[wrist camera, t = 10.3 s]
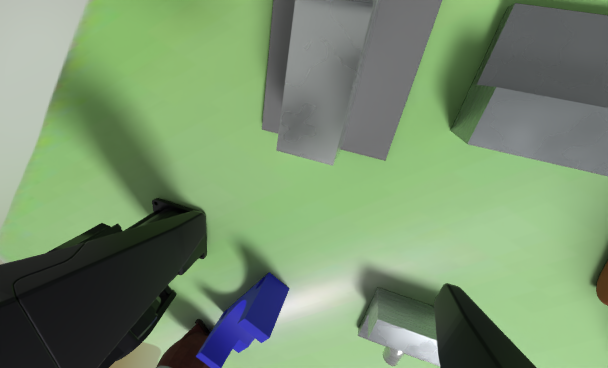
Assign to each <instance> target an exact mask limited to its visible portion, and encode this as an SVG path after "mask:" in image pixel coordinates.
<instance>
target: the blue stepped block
mask: <svg viewBox="0 0 608 368" xmlns="http://www.w3.org/2000/svg"><path fill="white" fill-rule="evenodd" d="M288 291H289V288H288V287H287V286H286V285H284V284H283V283H282V282H281V281H279V280H278V279H277V278H276V277H275V276H273V275H272V274H271V273H270V272H269V273H268V274H267V275H266V276H265V277H263V278H262V279H261V280H260V281H259V282H258V283H257V284H255V285H254V286H253V287H252V288H251V289H250V290H249V291H247V292H246V293H245V294H244V295H243V296H242V297H241V298H239V299H238V300H237V301H236V302H235V303H234V304H233V305H232V306H230V307H229V308H228V309H227V310H226V311H225V312H224V313H223V314H222V316H221V317H220V319H219V320H218V322H217V324H216V325H215V327H214V328H213V330H212V331H211V333H210V335H209V336H208V338H207V339H206V341H205V342H204V344H203V346H202V347H201V349H200V350H199V352H198V353H197V355H196V357H197V358H198V359H200V360H201V361H202V362H204V363H205V364H206V365H208V366H209V367H210V368H222V366H223V364H224V362H225V360H226V359H227V357H228V355H229V354H230V352H231V350H232V349H234V350H235V351H237V352H238V353H239V352H241V351H242V350H244V349H246V348H247V347H249V345H250V344H251V342H252V341H253V340H254V339H255V338H256V339H257V340H258V341H259V342H261V343H262V342H264V341H265V340H267V339H269V338H270V335H271V333H272V331H273V328H274V326H275V323H276V321H277V318H278V316H279V313H280V311H281V308H282V306H283V303H284V301H285V298H286V296H287V293H288Z"/></svg>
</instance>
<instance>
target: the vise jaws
mask: <svg viewBox="0 0 608 368" xmlns="http://www.w3.org/2000/svg"><path fill="white" fill-rule="evenodd" d="M451 132H453V133H454V134H455V135H457V136H458V137H459V138H460V139H462V140H463V141H464V142H465V143H467V144H469V145H474V146H478V147H482V148H487V149H491V150H496V151H500V152H504V153H509V154H513V155H517V156H522V157H526V158H531V159H535V160H539V161H544V162H548V163H552V164H557V165H561V166H565V167H570V168H574V169H579V170H583V171H587V172H592V173H596V174H600V175H605V176H608V15H601V14H593V13H586V12H578V11H571V10H563V9H556V8H548V7H541V6H533V5H526V4H518V3H515V4H513V5H511V6H509V7H508V8H507V10H506V12H505V14H504V16H503V18H502V21H501V23H500V25H499V27H498V29H497V31H496V34H495V36H494V38H493V40H492V42H491V44H490V47H489V49H488V51H487V53H486V55H485V57H484V59H483V62H482V64H481V66H480V68H479V70H478V72H477V75H476V77H475V79H474V81H473V83H472V85H471V87H470V90H469V92H468V94H467V96H466V98H465V100H464V103H463V105H462V107H461V109H460V111H459V113H458V116H457V118H456V120H455V122H454V124H453V126H452V128H451ZM358 336H360V337H362V338H365V339H368V340H370V341H373V342H376V343H378V344H381V345H383V346H386V348H385V349H384V351H383V358H384V360H385V361H386V362H387V363H388V364H389V365H391V366H396V365H397V364H398V362H399V361H400V359H401V358H402V356H403V355H404V354H407V355H410V356H412V357H415V358H418V359H420V360H423V361H427V362H430V363H432V364H435V365H438V366H440V363H439V356H438V348H437V337H436V324H435V311H434V306H431V305H428V304H425V303H422V302H419V301H416V300H413V299H410V298H407V297H404V296H401V295H399V294H396V293H393V292H390V291H387V290H384V289H381V288H377V290H376V292H375V294H374V297H373V299H372V301H371V303H370V305H369V307H368V310H367V312H366V314H365V316H364V318H363V320H362V323H361V325H360V327H359V329H358Z"/></svg>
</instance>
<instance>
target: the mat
mask: <svg viewBox="0 0 608 368" xmlns="http://www.w3.org/2000/svg"><path fill="white" fill-rule="evenodd" d="M441 2H442V0H381V1H380V5H379V9H378V13H377V16H376V20H375V24H374V28H373V32H372V36H371V40H370V43H369V47H368V51H367V55H366V59H365V63H364V66H363V70H362V74H361V78H360V82H359V86H358V90H357V93H356V97H355V101H354V105H353V109H352V113H351V116H350V120H349V124H348V128H347V132H346V136H345V140H344V143H343V145H342V148H341V150H345V151H349V152H353V153H357V154H361V155H365V156H369V157H373V158H377V159H381V160H386V157H387V154H388V151H389V149H390V146H391V143H392V140H393V137H394V135H395V132H396V129H397V126H398V123H399V121H400V118H401V115H402V112H403V109H404V106H405V104H406V101H407V98H408V95H409V92H410V90H411V87H412V84H413V81H414V78H415V76H416V73H417V70H418V67H419V64H420V61H421V59H422V56H423V53H424V50H425V47H426V45H427V42H428V39H429V36H430V33H431V31H432V28H433V25H434V22H435V19H436V16H437V14H438V11H439V8H440V5H441ZM294 6H295V0H274V1H273V12H272V23H271V35H270V46H269V57H268V68H267V79H266V90H265V101H264V112H263V124H262V130H266V131H270V132H274V133H278V134H279V126H280V118H281V110H282V102H283V94H284V86H285V78H286V70H287V62H288V54H289V46H290V38H291V30H292V22H293V14H294Z"/></svg>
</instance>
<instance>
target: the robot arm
mask: <svg viewBox="0 0 608 368" xmlns="http://www.w3.org/2000/svg"><path fill="white" fill-rule="evenodd" d="M152 204H153V211H154V212H153V213H152V214H150V215H148V216H147V217H145V218H144V219H142V220H140V221H139V222H137V223H136V224H134V225H132V226H131V227H129V228H128V229H126V230H124V231H122V230H121V226H120V225H119V224H116V225H114V226H112V227H110V226H108V225H106V224H103V223H101V224H99V225H97V226H95V227H94V228H92V229H90V230H88V231H86V232H84V233H83V234H81V235H79V236H77V237H75V238H73V239H71V240H69V241H68V242H66V243H64V244H62V245H60V246H58V247H56V248H54V249H53V250H51V251H49V252H47V253H45V254H41V255H37V256H33V257H29V258H26V259H22V260H17V261H13V262H9V263H5V264H1V265H0V368H109V367H110V366H111V365H112V364H113V363H114V362H115V361H117V360H120V359H122V358H123V357H125V356H126V355H128V354H129V353H130V352H132V351H133V350H134V349H135V348H136V347H138V346H139V345H140V344H141V343H142V342H143V341H144V340H145V339H146V338H147V336H148V335H149V334H150V333H151V331H152V330H153V329H154V327H155V326H156V324H157V323H158V321H159V320H160V318H161V317H162V315H163V314H164V312H165V311H166V309H167V308H168V306H169V305H170V303H171V302H172V300H173V299H174V297H175V296H176V292H175V291H174V290H172V289H171V288H170V287H169V286H168V284H169V283H170V282H171V281H172V280H173V279H174V278H175V277H176V276H177V275H182V274H184V273H185V272H186V271H187V270H188V269H189V268H190V267H191V266H192V264H193V263H194V262H195V261H196V260H197V259H198V258H200V259H204V258H205V257H206V256H207V237H206V216H205V214H204V213H202V212H199V211H196V210H193V209H190V208H187V207H184V206H181V205H178V204H175V203H171V202H168V201H165V200H162V199H159V198H156V199H154V200H153V201H152ZM434 311H435V324H436V337H437V348H438V356H439V363H440V368H536V367H535V366H534V365H533V363H532V362H531V361H530V360H529V359H528V358H527V357H526V356H525V355H524V354H523V353H522V352H521V351H520V350H519V349H518V348H517V347H516V346H515V345H514V344H513V342H512V341H511V340H510V339H509V338H508V337H507V336H506V335H505V334H504V333H503V332H502V331H501V330H500V329H499V328H498V327H497V326H496V325H495V324H494V323H493V321H492V320H491V319H490V318H489V317H488V316H487V315H486V314H485V313H484V312H483V311H482V310H481V309H480V308H479V307H478V306H477V305H476V304H475V303H474V302H473V300H472V299H471V298H470V297H469V296H468V295H467V294H466V293H465V292H464V291H463V290H462V289H461V288H460V287H458V286H455V285H452V284H448V283H446V284H444V285H443V287H442V288H441V290H440V292H439V294H438V295H437V297H436V299H435V302H434Z"/></svg>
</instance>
